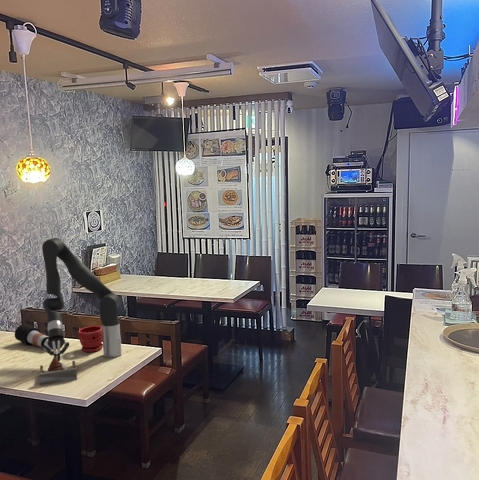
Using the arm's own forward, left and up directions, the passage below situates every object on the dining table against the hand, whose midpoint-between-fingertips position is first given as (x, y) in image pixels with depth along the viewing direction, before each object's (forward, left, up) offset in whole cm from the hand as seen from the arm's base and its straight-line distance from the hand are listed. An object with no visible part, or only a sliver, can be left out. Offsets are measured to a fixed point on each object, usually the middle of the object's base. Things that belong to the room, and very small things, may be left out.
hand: (57, 361), depth 236 cm
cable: (+16, -41, -5) cm, 44 cm away
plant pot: (-14, -27, -5) cm, 31 cm away
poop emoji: (-1, +8, -5) cm, 9 cm away
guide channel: (-1, +7, -4) cm, 8 cm away
